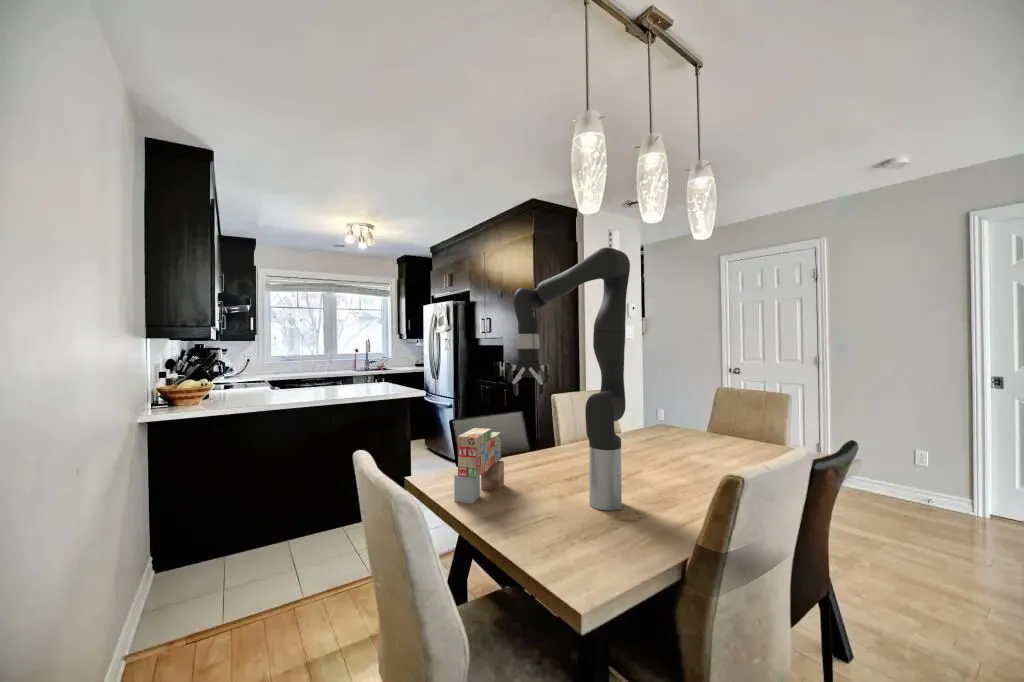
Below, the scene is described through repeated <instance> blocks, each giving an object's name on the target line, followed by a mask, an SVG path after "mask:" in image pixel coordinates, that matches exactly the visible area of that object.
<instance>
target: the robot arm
mask: <svg viewBox="0 0 1024 682" xmlns="http://www.w3.org/2000/svg"><path fill="white" fill-rule="evenodd" d="M630 268H631V264H630V259H629V257H628V255H627V254H626V253H625V252H623V251H621V250H619V249H616V248H613V247H606V246H605V247H602V248H600V249H598V250H596V251H595V252H593V253H592V254H590V255H588V256H587V257H586V258H584V259H583V260H581V261H580V262H578V263H576V264H575V265H573V266H572V267H570V268H568V269H566V270H564V271H562V272H560V273H559V274H557V275H553V276H552V277H549V278H547V279H545V280H542V281H541V282H539V283H538V285H537V288H526V287H520V288H518V289H517V290H516V291H515V292H514V294H513V298H512V299H513V301H512V303H513V309H514V313H515V317H516V320H517V340H516V343H517V344H516V349H517V350H516V353H517V356H516V361H517V362H516V364H508V365H507V376H506V377H507V378H506V380H507V382H508V383H510V384H512V393H513V394H514V396H518V395H519V383H518V382H519V381H520V380H521V379H522V378H530V379H531V378H534V379H536V381H537V382H538V383H539V385H538V391H539V392H538V394H539V395H538V396H541V397H542V396H543V395H544V394H545V384H548V383H549V382H551V380H550V378H551V377H550V366H549V364H545V365H544V364H543V365H541V364H540V336H539V332H540V331H539V319H538V318H537V317H535V316H534V315H533V312H532V311H534V310H539V309H541V308H543V307H544V306H546V305H547V304H549V303H550V302H553V301H554V300H557V299H559V298H562V297H565V296H566V295H568V294H569V293H571V292H573V290H575V289H576V288H577V287H579V286H580V285H582V284H584V283H587V282H590V281H595V280H600V279H601V280H602V281H603V297H602V302H601V304H600V307H599V309H598V312H597V314H596V317H595V321H594V325H593V335H592V339H593V341H592V343H593V345H592V346H593V348H592V349H593V352H594V354H595V358H596V361H597V364H598V366H599V370H600V377H601V378H600V379H601V384H600V391H599V392H596V393H593V394H590V396H589V397H588V399H587V400H586V403H585V414H584V415H585V430H586V432H585V433H586V437H587V440H588V447H589V448H588V452H589V453H588V454H589V455H588V458H589V459H588V460H589V463H588V465H589V466H588V468H589V469H588V470H589V471H588V472H589V473H588V474H589V475H588V476H589V477H588V480H589V481H588V482H589V483H588V484H589V485H588V486H589V489H588V490H589V496H588V498H589V505H590V507H592V508H594V509H596V510H599V511H600V510H601V511H607V512H608V511H621V510H622V504H623V503H622V501H623V500H622V499H623V497H622V494H623V493H622V491H623V490H622V488H623V487H622V477H623V476H622V475H623V473H622V438H621V437H620V436H619V435H617V434H616V432H615V431H616V430H615V422H617V421H619V420H621V419H622V418H623V416H624V414H625V412H626V392H625V390H626V388H625V350H626V349H625V347H626V320H627V319H626V314H627V293H628V287H629V286H628V284H629V278H630V272H631V271H630V270H631V269H630ZM541 369H542V372H543V373H544V378H542V376H541V374H540V373H539V371H540V370H541ZM515 370H517V372H518V373H517V374H516V376H515V377H514V376H513V375H514V371H515Z"/></svg>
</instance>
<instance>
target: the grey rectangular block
mask: <svg viewBox="0 0 1024 682" xmlns="http://www.w3.org/2000/svg"><path fill="white" fill-rule="evenodd" d="M453 479H454V488H453V489H454V491H453V493H454V502H455V503H464V504H465V503H466V504H475V502H476V501H477V500H478V499H479V498H480V496H481V475H480V476H479V477H478V478H469V477H459V476H458V472H457V473H456V474H454V477H453Z"/></svg>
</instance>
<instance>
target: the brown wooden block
mask: <svg viewBox="0 0 1024 682" xmlns="http://www.w3.org/2000/svg"><path fill="white" fill-rule="evenodd" d="M503 484H504V485H505V461H504V460H499V461H498V462H496V463H495V464H494V465H493V466H491V467H490V468H489V469H488V470H487V471H486V472H484V473H483V474H482V475H480V490H483V489H489V490H488V491H494V490H499V489H500V488H501V487H502V486H503ZM503 487H504V486H503ZM503 487H502V488H503ZM502 488H501V489H502ZM501 489H500V490H501ZM500 490H499V491H500Z"/></svg>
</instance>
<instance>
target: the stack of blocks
mask: <svg viewBox="0 0 1024 682" xmlns="http://www.w3.org/2000/svg"><path fill="white" fill-rule="evenodd" d="M501 436H502V435H501V432H500V431H492V428H483V427H481V428H479V427H473V428H471V429H469V430H467V431H465V432H463V433H461V434H459V435H458V436H457V461H458V462H457V473H458V476H459V477H469V478H478V477H479V476H480V477H481V475H482V474H483V473H484V472H486V471H487V470H488V469H489V468H490V467H491V466H493V465H494V464H495V463H496V462H498V461H501V460H502V439H501Z"/></svg>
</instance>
